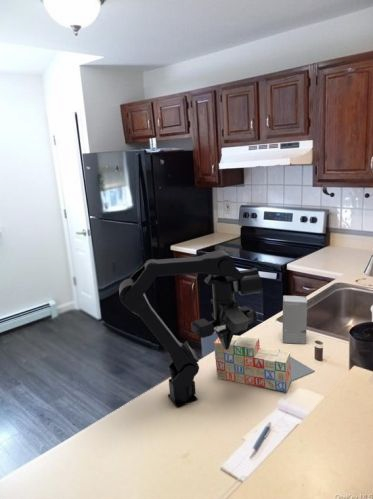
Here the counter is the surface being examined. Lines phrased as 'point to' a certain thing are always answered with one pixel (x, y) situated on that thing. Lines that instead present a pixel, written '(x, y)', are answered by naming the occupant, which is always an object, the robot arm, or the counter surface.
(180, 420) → the counter surface
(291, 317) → the skincare box
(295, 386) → the counter surface
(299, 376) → the mat
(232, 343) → the stack of blocks
